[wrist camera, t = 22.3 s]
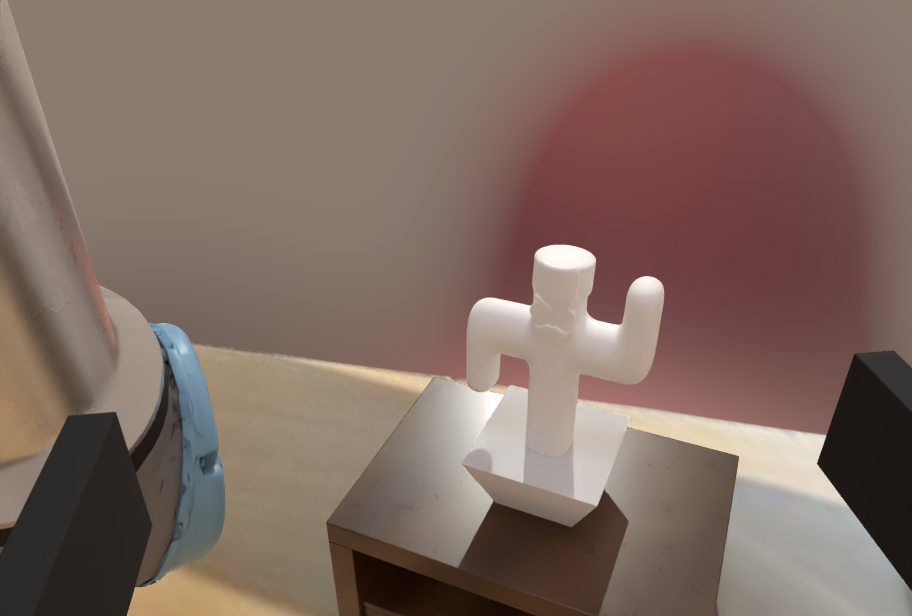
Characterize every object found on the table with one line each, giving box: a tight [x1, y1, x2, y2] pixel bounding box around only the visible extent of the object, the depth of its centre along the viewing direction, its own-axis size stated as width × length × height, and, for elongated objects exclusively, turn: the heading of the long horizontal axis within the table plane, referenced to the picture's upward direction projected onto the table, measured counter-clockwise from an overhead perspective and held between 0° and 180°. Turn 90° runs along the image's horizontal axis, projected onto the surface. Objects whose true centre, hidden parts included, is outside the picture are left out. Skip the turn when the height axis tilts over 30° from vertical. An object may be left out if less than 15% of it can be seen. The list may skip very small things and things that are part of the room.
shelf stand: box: [326, 377, 739, 616], centre depth 45 cm, size 20×14×10 cm
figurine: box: [462, 245, 664, 527], centre depth 38 cm, size 7×9×15 cm
